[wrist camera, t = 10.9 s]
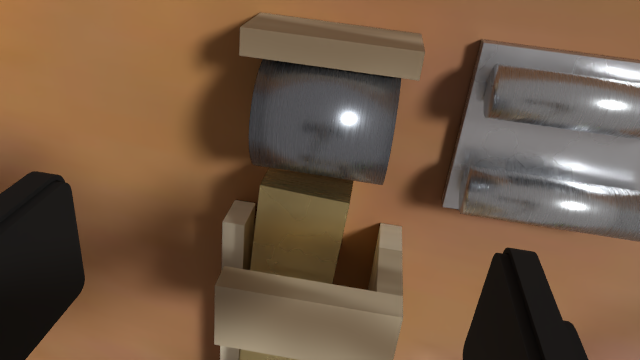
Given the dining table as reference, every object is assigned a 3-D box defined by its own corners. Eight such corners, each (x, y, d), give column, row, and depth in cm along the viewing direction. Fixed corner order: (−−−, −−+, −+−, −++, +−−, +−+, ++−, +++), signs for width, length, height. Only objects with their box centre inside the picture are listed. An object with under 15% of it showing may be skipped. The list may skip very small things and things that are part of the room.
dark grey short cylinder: (387, 176, 17) (378, 190, 22) (406, 52, 18) (393, 90, 22) (242, 153, 18) (262, 172, 22) (264, 32, 18) (280, 74, 22)
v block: (696, 67, 19) (737, 88, 17) (624, 228, 23) (649, 263, 20) (481, 39, 20) (492, 55, 18) (441, 200, 23) (446, 231, 21)
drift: (310, 377, 30) (300, 432, 27) (250, 364, 30) (232, 417, 27) (356, 164, 23) (349, 203, 20) (279, 148, 23) (259, 185, 20)
